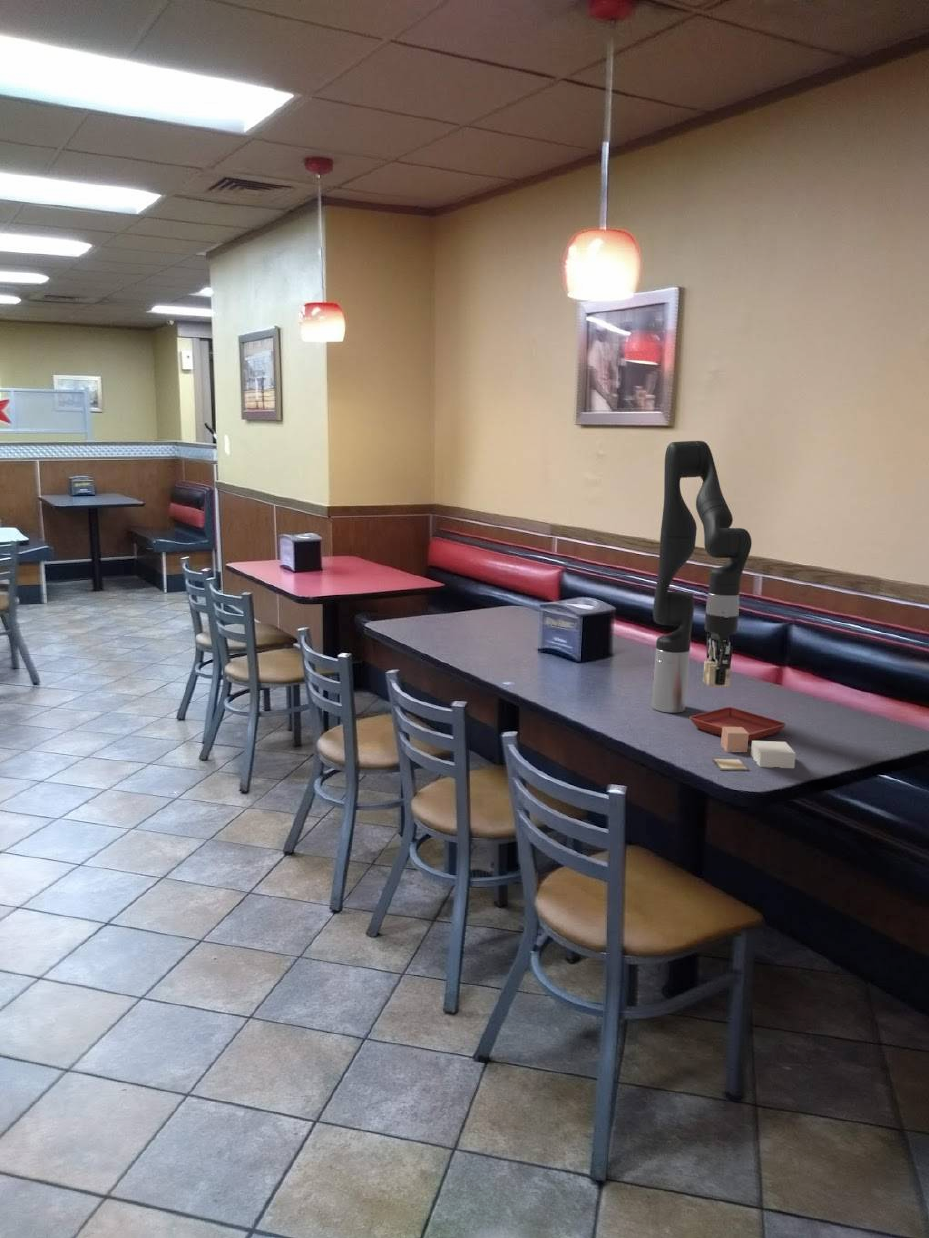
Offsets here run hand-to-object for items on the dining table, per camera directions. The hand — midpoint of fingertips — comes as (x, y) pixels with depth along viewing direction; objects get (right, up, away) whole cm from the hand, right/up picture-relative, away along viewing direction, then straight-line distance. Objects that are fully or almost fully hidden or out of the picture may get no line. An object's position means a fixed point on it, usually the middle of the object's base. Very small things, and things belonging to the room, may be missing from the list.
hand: (716, 681), depth 222 cm
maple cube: (0, -1, 0) cm, 1 cm away
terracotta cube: (+6, -17, +6) cm, 19 cm away
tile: (+2, -19, -6) cm, 20 cm away
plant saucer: (+11, -15, +21) cm, 28 cm away
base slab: (+13, -19, -2) cm, 23 cm away
